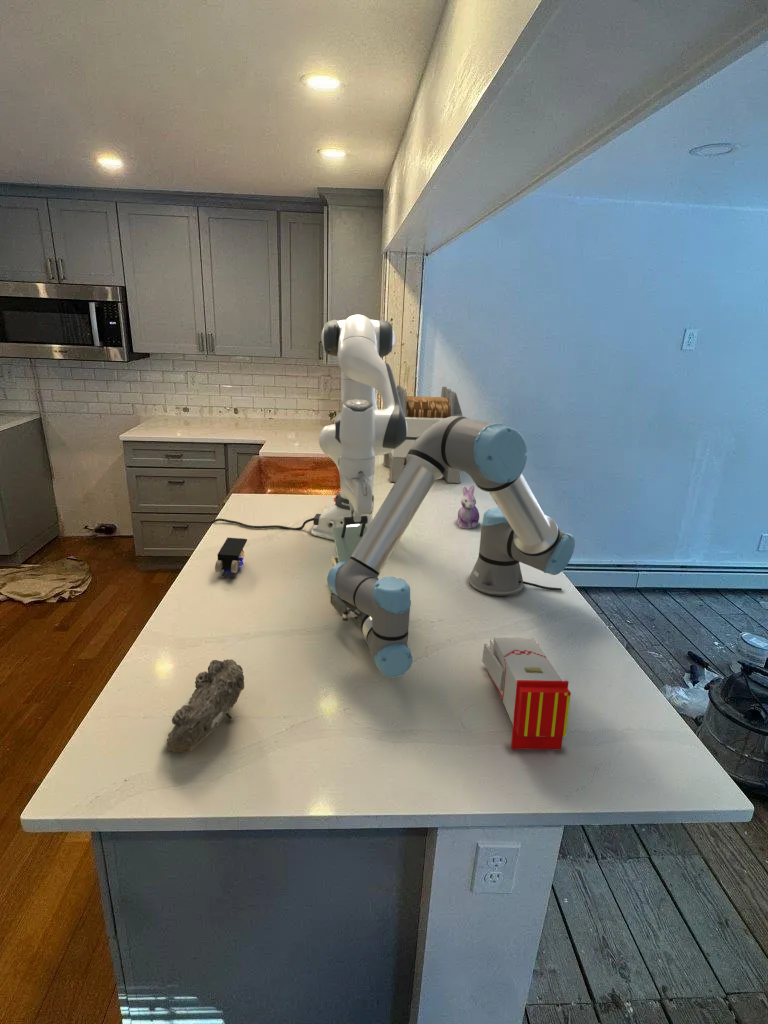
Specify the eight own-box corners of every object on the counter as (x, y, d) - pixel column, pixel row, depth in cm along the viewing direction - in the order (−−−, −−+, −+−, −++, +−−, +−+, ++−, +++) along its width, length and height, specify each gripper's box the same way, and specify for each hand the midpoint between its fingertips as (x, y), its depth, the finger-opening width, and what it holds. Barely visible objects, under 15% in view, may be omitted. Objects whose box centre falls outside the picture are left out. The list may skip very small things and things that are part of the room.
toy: (531, 620, 128) (580, 688, 99) (526, 675, 131) (572, 757, 101) (478, 619, 128) (511, 687, 98) (474, 674, 130) (505, 756, 101)
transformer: (382, 463, 289) (386, 382, 275) (445, 464, 293) (451, 384, 279) (390, 482, 257) (394, 392, 243) (460, 483, 261) (468, 394, 247)
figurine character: (238, 584, 162) (249, 557, 175) (236, 562, 158) (247, 536, 172) (215, 584, 161) (227, 556, 175) (212, 561, 158) (225, 535, 171)
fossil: (192, 660, 117) (244, 628, 112) (224, 691, 120) (276, 661, 115) (142, 746, 98) (202, 712, 93) (182, 779, 101) (242, 748, 96)
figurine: (465, 531, 205) (469, 491, 200) (449, 521, 213) (452, 483, 208) (486, 527, 209) (490, 488, 204) (470, 518, 217) (473, 481, 212)
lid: (332, 530, 153) (336, 509, 146) (365, 528, 155) (371, 507, 148) (341, 580, 144) (346, 560, 137) (376, 577, 146) (383, 557, 139)
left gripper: (379, 478, 132) (377, 533, 137) (360, 456, 151) (358, 505, 155) (353, 479, 131) (351, 534, 135) (336, 456, 149) (336, 506, 154)
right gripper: (329, 645, 127) (314, 598, 147) (422, 635, 133) (395, 590, 153) (330, 616, 124) (314, 571, 145) (424, 606, 130) (396, 565, 150)
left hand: (355, 518), depth 145 cm, fingers closed
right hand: (356, 581), depth 149 cm, fingers closed on chest, 9 cm apart
